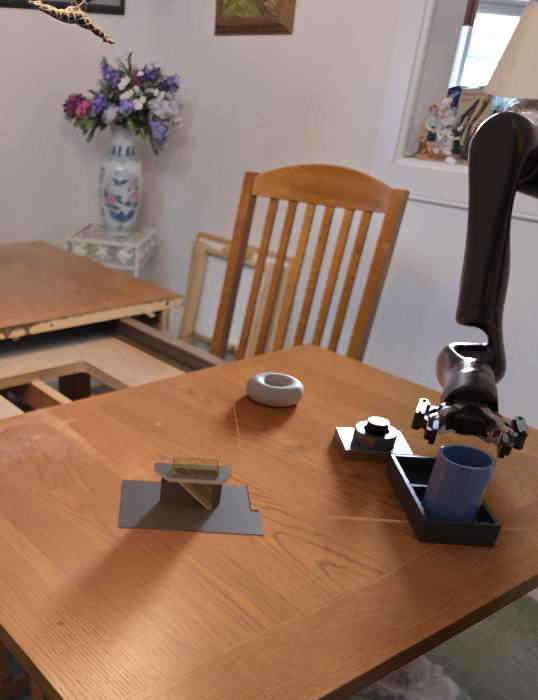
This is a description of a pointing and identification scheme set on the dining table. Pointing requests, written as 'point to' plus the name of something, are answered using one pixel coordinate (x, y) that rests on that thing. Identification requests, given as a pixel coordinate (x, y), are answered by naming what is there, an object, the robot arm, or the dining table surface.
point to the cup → (458, 483)
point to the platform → (189, 500)
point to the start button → (377, 426)
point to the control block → (369, 444)
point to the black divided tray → (410, 488)
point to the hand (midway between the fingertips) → (467, 444)
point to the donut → (275, 389)
